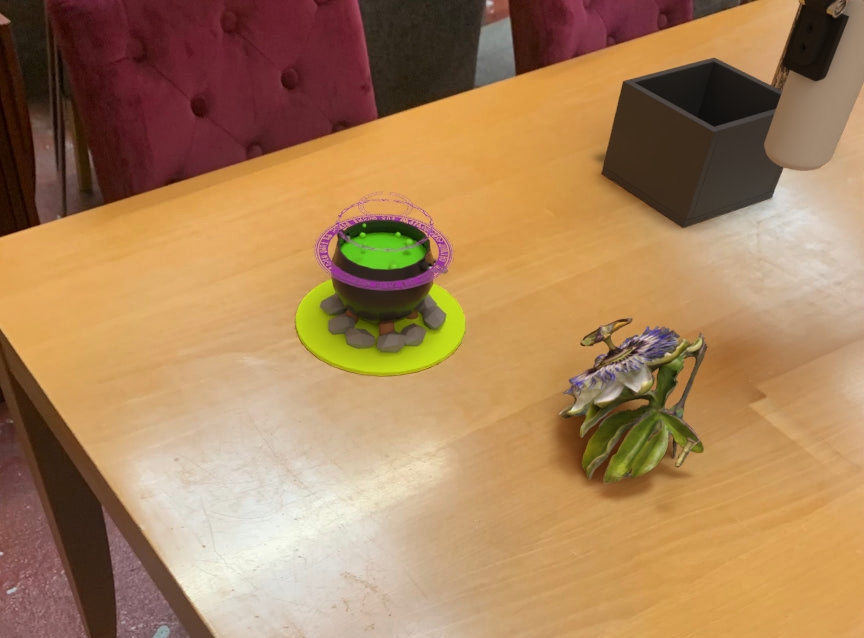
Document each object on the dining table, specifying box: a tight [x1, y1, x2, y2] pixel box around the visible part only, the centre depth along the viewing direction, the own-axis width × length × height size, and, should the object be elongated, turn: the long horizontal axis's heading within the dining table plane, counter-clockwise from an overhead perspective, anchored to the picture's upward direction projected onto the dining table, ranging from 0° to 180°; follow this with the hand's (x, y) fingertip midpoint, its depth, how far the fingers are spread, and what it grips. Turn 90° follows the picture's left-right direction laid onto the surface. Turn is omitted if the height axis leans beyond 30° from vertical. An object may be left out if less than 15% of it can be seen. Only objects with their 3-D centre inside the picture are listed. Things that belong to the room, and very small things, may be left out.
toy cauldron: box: [294, 191, 467, 377], centre depth 74 cm, size 15×15×11 cm
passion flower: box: [558, 316, 709, 484], centre depth 66 cm, size 11×11×12 cm
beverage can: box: [764, 0, 864, 172], centre depth 61 cm, size 5×5×12 cm
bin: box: [601, 57, 785, 228], centre depth 91 cm, size 13×13×10 cm
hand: (832, 61), depth 61 cm, fingers closed on beverage can, 4 cm apart
